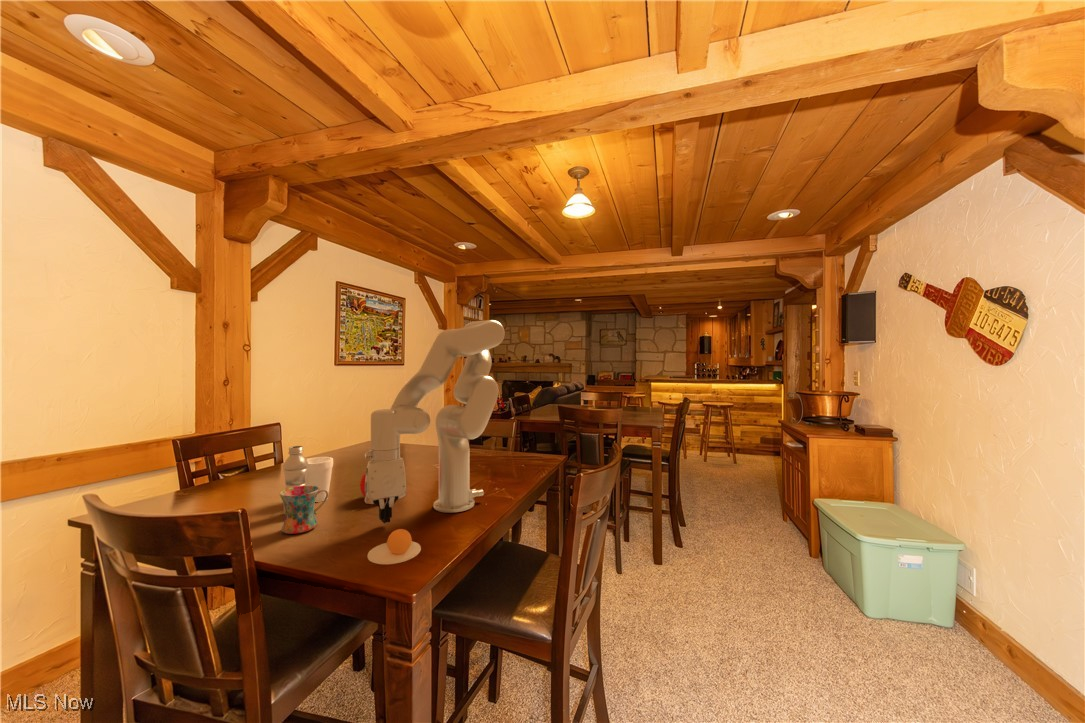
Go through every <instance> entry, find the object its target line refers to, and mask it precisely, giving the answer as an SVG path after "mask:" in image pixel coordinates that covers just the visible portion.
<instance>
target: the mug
mask: <svg viewBox="0 0 1085 723" xmlns="http://www.w3.org/2000/svg"><path fill="white" fill-rule="evenodd" d="M323 491H324V492H326V497H325V499H324V501H323V502H321V503H320V504H319V506H318V507H316V508H315V504H316V503H315V499H316V496H317V495H318V494H319V493H320V492H323ZM279 496H280V498H281V500H282V503H283V505H284V507H285V513H284V514H285V515H284V516H285V517H284V522H283V524H282V527H281V532H282V533H284V534H289V535H292V534H293V535H296V534H302V533H305V532H308V531H311V530H313V529H314V528H316V527H317V526H318V524H319V523H318V520H317V519H316V516H315V515H318V513H317V511H318V510H319V509H321V508H322V506H324V504H326V501H327V500H328V499H327V498H329V494H328V492H327V491H326V490H320V491H319V487H317V486H312V485H307V486H297V487H292V488H288V489H286V488H285V489H283V490H281V491H280V492H279Z"/></svg>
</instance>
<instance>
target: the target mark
mask: <svg viewBox="0 0 1085 723" xmlns="http://www.w3.org/2000/svg"><path fill="white" fill-rule="evenodd" d="M421 551H422V546H421V545H420V543H418V542H415V541H413V540H412V542H411V545H410V547H409V549H408V550H407V551H406V552H404V553H402V554H394V553H392V552H391V551H390V550H389V549H388V546H387V542H385V543H381V544H379V545H376V546H375V547H373V548H372V549H370V550H369V551H368V553H367V560H368V561H369V562H371V563H373V564H376V565H383V566H384V565H395V564H400V563H403V562H407V561H410V560H411V559H413V558H415V557H417V556H418V555H419V554H420V553H421Z"/></svg>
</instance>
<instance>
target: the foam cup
mask: <svg viewBox="0 0 1085 723" xmlns="http://www.w3.org/2000/svg"><path fill="white" fill-rule="evenodd" d="M306 460H307V462H308V469H307V476H306V486H307V485H312V486H317V487H319V491H320V490H326V491H327V492H328V495H329V493H330V485H331V478H332V471H333V466H334V458H333V457H329V456H318V457H316V456H315V457H310V458H306ZM325 497H326V492H324V491H323V492H320V493H319V494H318V495H317V496H316V499H315V502H318V503H320V502H319V501H324V499H325ZM328 498H329V497H328ZM328 498H327V500H328Z"/></svg>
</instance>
